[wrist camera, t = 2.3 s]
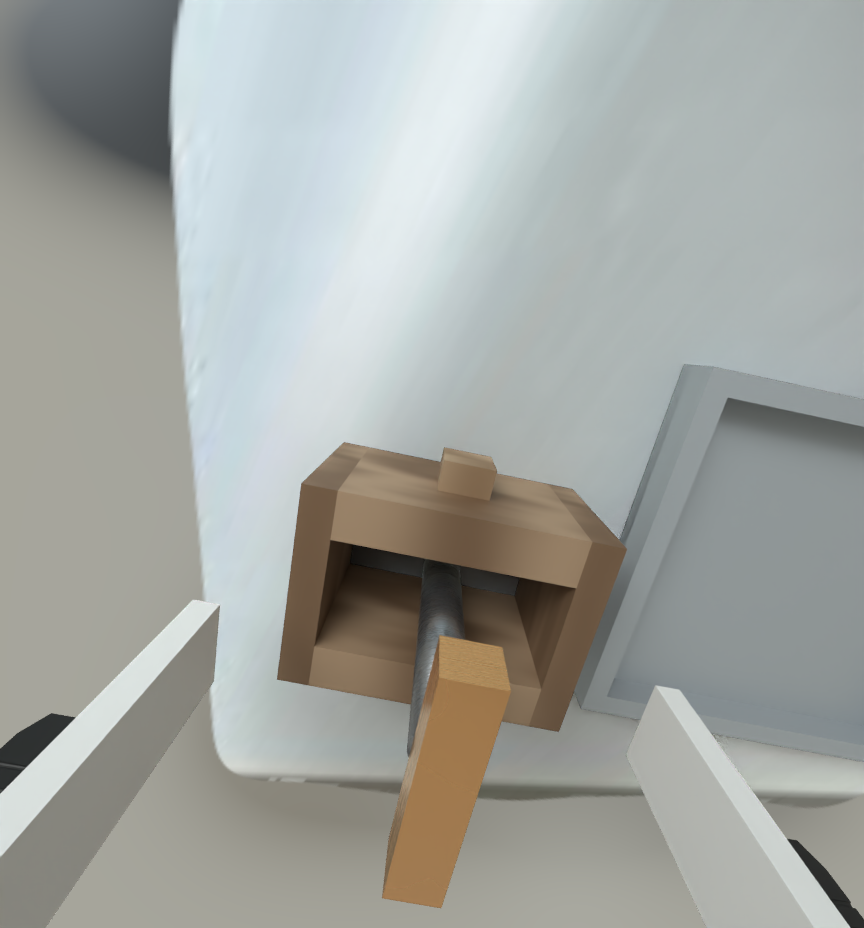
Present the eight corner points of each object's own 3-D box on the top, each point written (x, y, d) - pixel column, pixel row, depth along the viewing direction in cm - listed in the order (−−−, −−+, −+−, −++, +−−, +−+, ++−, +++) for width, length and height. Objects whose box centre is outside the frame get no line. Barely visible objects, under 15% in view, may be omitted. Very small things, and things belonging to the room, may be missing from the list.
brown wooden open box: (321, 589, 21) (277, 679, 16) (347, 417, 19) (306, 448, 13) (527, 629, 22) (558, 731, 16) (580, 465, 19) (639, 516, 13)
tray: (684, 364, 18) (713, 366, 16) (1049, 443, 18) (1120, 455, 16) (569, 677, 22) (581, 708, 21) (863, 733, 23) (901, 769, 21)
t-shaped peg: (439, 478, 20) (433, 676, 8) (472, 485, 20) (515, 692, 8) (413, 593, 21) (377, 897, 10) (443, 599, 21) (445, 909, 10)
